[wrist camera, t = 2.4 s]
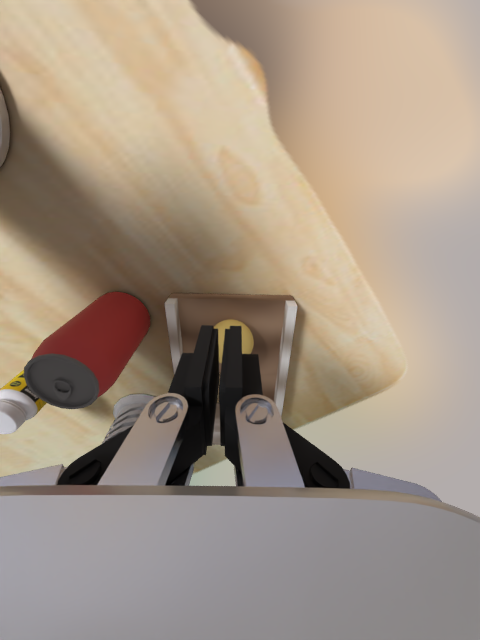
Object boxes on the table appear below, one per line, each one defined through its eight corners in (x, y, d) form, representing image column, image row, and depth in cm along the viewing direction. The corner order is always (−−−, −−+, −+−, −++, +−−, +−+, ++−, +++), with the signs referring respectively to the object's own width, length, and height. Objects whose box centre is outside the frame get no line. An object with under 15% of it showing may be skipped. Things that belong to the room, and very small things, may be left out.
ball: (209, 311, 28) (203, 334, 23) (253, 311, 28) (256, 335, 23) (210, 347, 30) (206, 374, 26) (251, 348, 30) (253, 375, 26)
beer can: (95, 329, 31) (19, 404, 20) (98, 282, 28) (10, 339, 17) (148, 343, 32) (101, 421, 21) (156, 299, 29) (107, 363, 18)
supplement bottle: (73, 368, 34) (25, 419, 26) (63, 389, 35) (16, 442, 28) (36, 351, 32) (-25, 400, 25) (28, 374, 34) (-31, 426, 27)
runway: (171, 293, 28) (158, 312, 24) (292, 295, 28) (301, 314, 24) (185, 414, 38) (178, 443, 33) (276, 415, 38) (281, 445, 33)
